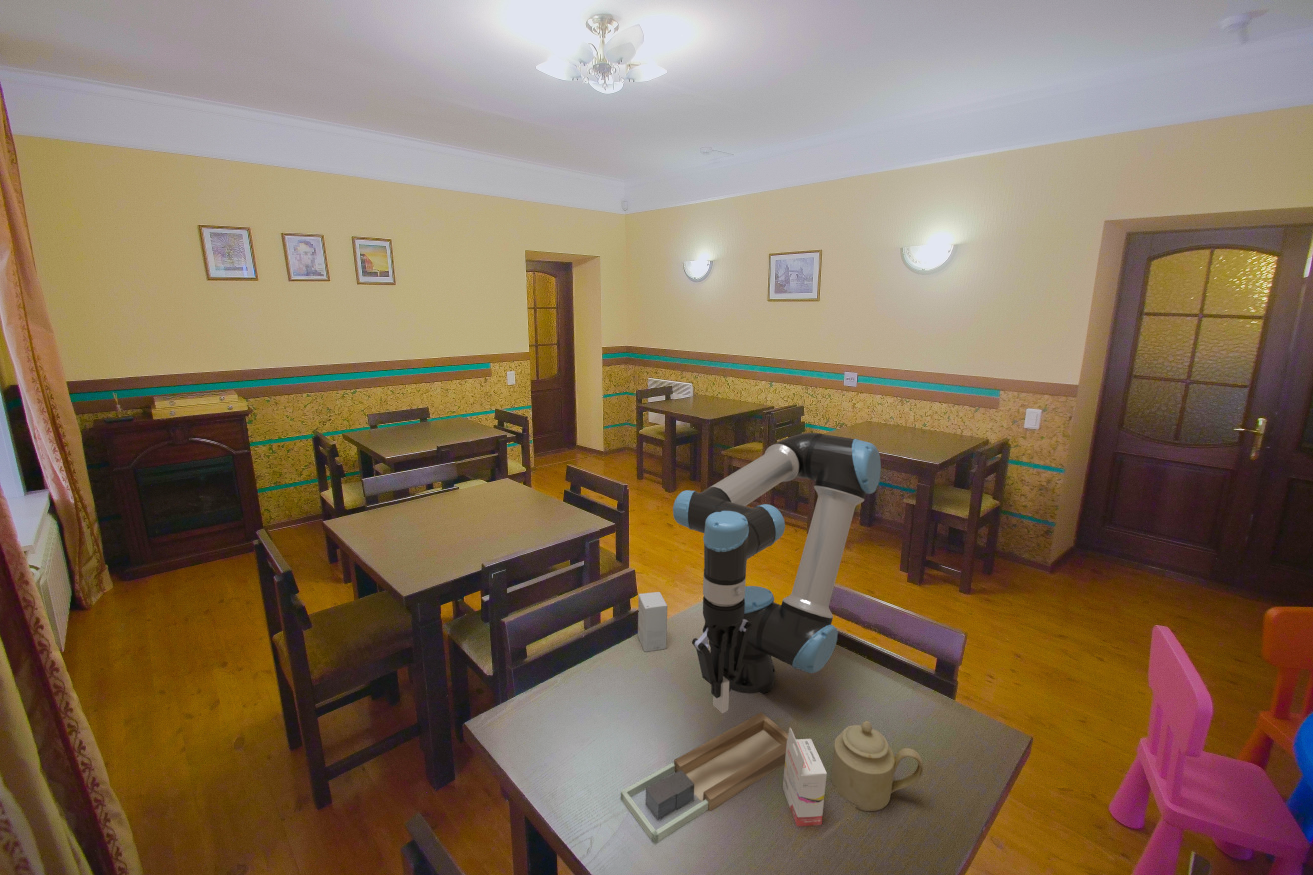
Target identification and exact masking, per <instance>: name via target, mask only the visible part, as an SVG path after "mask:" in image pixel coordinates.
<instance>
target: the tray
mask: <svg viewBox="0 0 1313 875" xmlns="http://www.w3.org/2000/svg"><path fill="white" fill-rule="evenodd" d="M674 773H675V765H674V762H671V763H669V764H667V765H666V766H663V767H662V768H661V769H658V770H657V771H655V772H653V773H652V774H649V775H648V776H646V777H644V778H642V779H640V780H638V781H636V783H635V782H634V783H633V784H631V785H630V786H628V787H626V788H624V789H622V790H620V800H621V801H622V802H623V804H624V805H625V807H627V808H628V810H629V811H630V813H631V814H632V815H633V816H634V818H635V820H636V821H637V822H638V824H639V826H641V828H642V829H643V830H644V832H645V833H646V835H647V836H648V837H649V839H650V840H651V841H652V843H653V844H654V845H655V844H657V843H658V842H660V841H661V840H662V839H664V838H666V837H667V836H669V835H670V834H672V833H673V832H675V831H677V830H678V829H680V828H682V827H683V826H685V825H686V824H687V823H689V822H691V821H693V820H694V819H695V818H697V817H698V816H700V815H702V814H703V813H705V812H707V811H709V810H708V804H709V802H708V801H707V800H706V799H705V800H704V801H702V802H701V801H700V802H699V803H697V804H695V805H694V806H693V807H691V808H690V809H688V810H686V811H685V812H683V813H681V814H679V815H678V816H677V817H675V818H673V819H672V820H670V821H669V822H666V824H664V825H662V826H660V827H659V828H657V829H655V827H654V826H653V825H652V823H650V821H649V820H648V818H647V816H645V814H644V813H643V812H642V810H641V809H640V808H639V806H638V805H637V804H636V803H635V801H634V800H633V799H632V797H633V796H634V795H637V794H638V793H640V792H642V791H644V790H646V788H648V787H649V786H651V785H653V784H655V783H657V782H658V781H660V780H662V779H665V778H667V777H669V776H671V775H672V774H674Z"/></svg>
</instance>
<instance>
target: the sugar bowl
mask: <svg viewBox="0 0 1313 875" xmlns="http://www.w3.org/2000/svg"><path fill="white" fill-rule="evenodd" d="M905 758H912V759H914V760H915V761H916V762H917V768H916V769H915V771H913V773H912V774H910V775H908V776H906V777H904V778H901V779H896V780H894V776H895V773H896V770H897V769H898V767H899V765H900V762H901V761H902V760H903V759H905ZM924 768H925V766H924V762H923V758H922V756H921V755H920V754H919V752H917V751H916V750H915V749H913V748H910V747H904V748H902V749H900V750H899V751H897V753H896V754H894V752H893V750H892V748H891V747H890V746H889V743H888V741H887V738H886V737H885V736H884V735H883V734H882V733H881V732H880V731H878V730H876V729H874V728H873V726H872V723H871V722H870V721H869V720H865V721H863V722H862V723H861V724H853V725H848V726H847V727H845V728H844V729H843V730H842V732H841V733H839V734H838V735H837V736H836V737H835V740H834V744H833V751H832V761H831V774H830V775H831V778H830V779H831V781H832V782H831V783H832V784H833V787H834V788H835V790H836V792H838V794H840V796H842V797H843V798H844V799H845V800H847V801H848V802H850V803H852V804H854V805H857V806H856V807H855V809H856V810H861V811H866V812H876V811H880V810H882V809H884V808H885V807H887V805H888V804H889V802H890V799H891V794H892V793H895V792H896V791H898V790H903V789H905V788H908V787H912V786H913V785H914V784H916V783H917V782H918V781H919V780H920V779H921V777H922V775H923V772H924Z"/></svg>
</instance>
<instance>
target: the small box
mask: <svg viewBox="0 0 1313 875" xmlns="http://www.w3.org/2000/svg"><path fill="white" fill-rule="evenodd" d="M637 605H638V611H639V612H637V613H638V614H637V616H638V617H637V620H638V621H637V636H638V637H637V638H638V639H639V641H640V644H641V647H642V649H643V652H652V651H660V650H666V649H667V643H668V642H667V641H668V639H667V638H668V634H667V633H668V632H667V631H668V604H667V602H666V601H665V599H664V597H663V595H662V593H661V591H657V592H655V591H654V592H646V593H645V592H644V593H638V604H637Z"/></svg>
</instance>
